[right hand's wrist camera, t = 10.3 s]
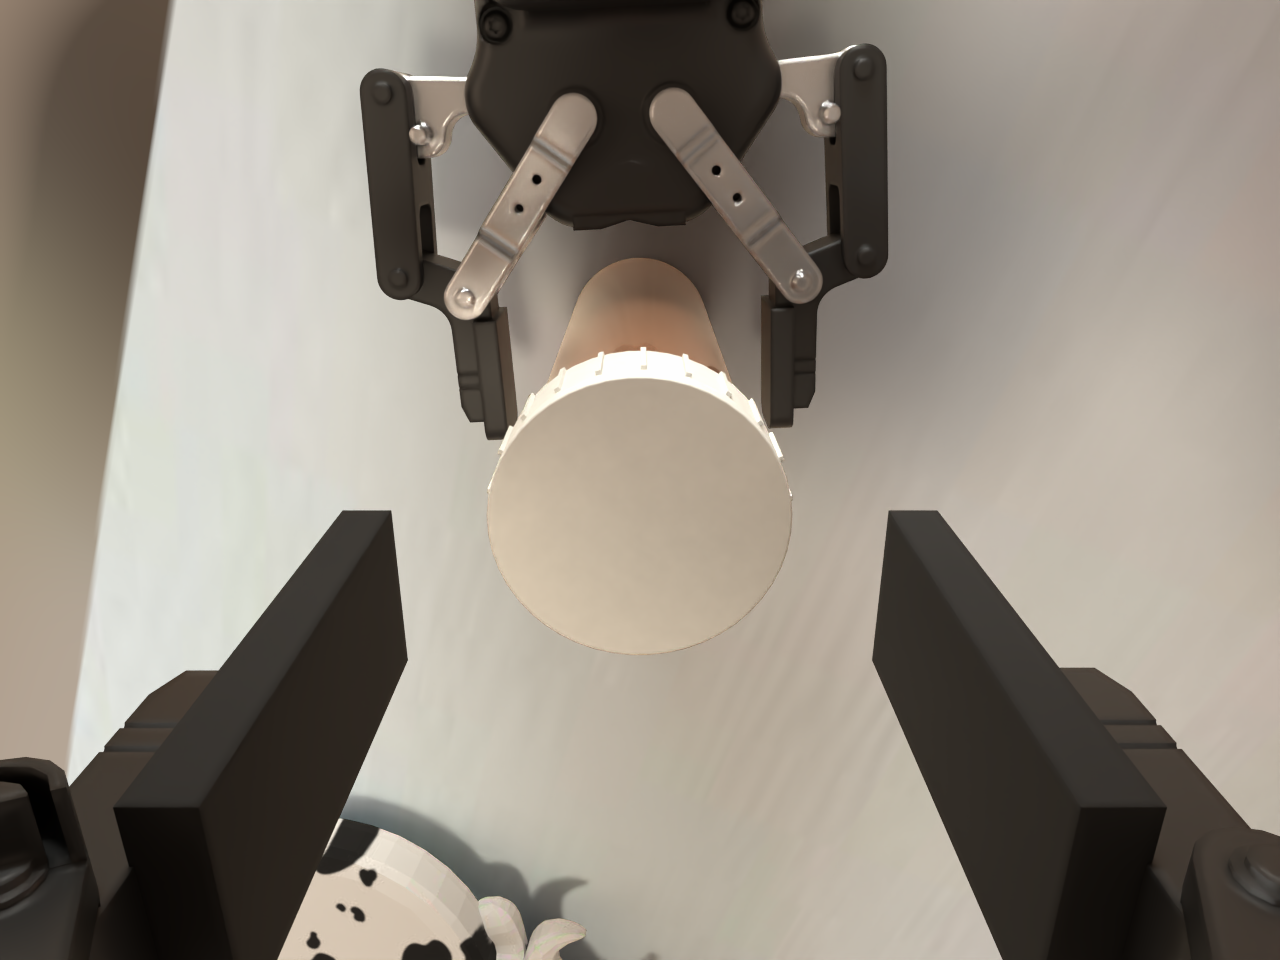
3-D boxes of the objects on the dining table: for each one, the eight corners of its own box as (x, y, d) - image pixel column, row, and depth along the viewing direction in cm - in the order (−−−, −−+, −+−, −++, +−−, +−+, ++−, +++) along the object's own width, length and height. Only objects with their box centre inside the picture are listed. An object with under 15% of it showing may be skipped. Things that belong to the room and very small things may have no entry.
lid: (568, 296, 17) (559, 316, 15) (832, 423, 18) (855, 458, 16) (455, 542, 19) (435, 587, 17) (700, 646, 20) (706, 700, 18)
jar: (607, 233, 32) (574, 342, 16) (730, 294, 33) (818, 458, 17) (551, 356, 34) (469, 568, 17) (669, 411, 35) (695, 664, 18)
